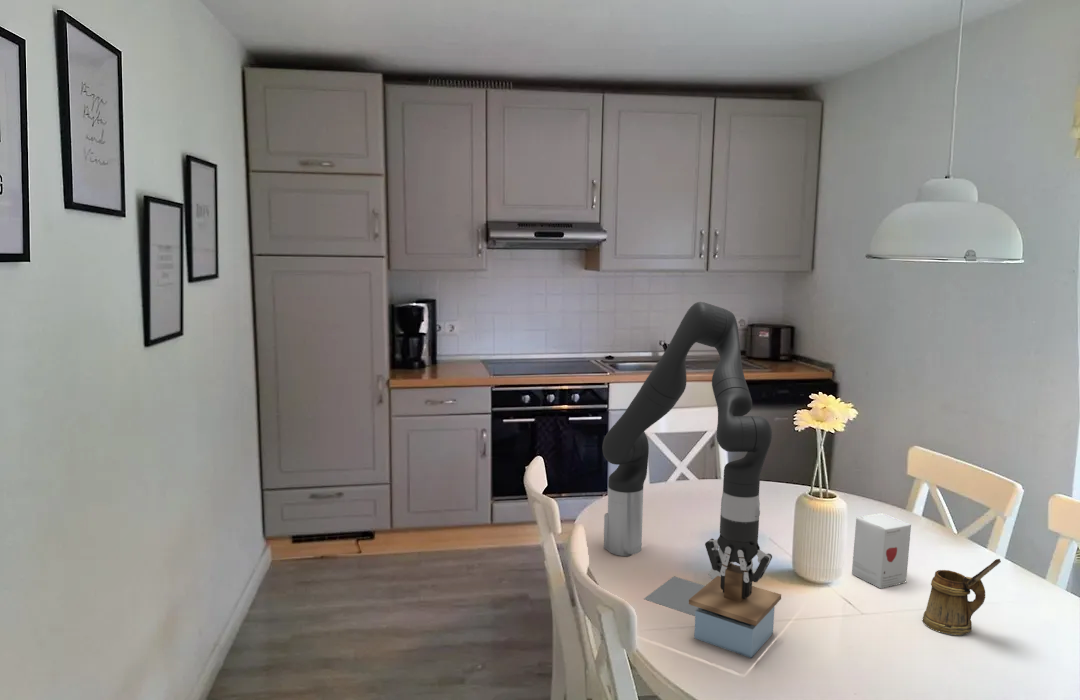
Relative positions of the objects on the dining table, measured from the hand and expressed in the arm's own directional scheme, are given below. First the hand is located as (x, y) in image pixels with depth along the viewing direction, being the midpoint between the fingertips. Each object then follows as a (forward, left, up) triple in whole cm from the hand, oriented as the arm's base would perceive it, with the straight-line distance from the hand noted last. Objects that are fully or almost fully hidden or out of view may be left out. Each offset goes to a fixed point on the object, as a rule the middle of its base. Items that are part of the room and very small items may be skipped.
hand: (735, 594), depth 148 cm
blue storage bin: (0, 0, -9) cm, 9 cm away
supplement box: (+17, +49, -10) cm, 53 cm away
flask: (-13, +25, -10) cm, 30 cm away
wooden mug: (+36, +33, -10) cm, 50 cm away
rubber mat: (-15, +10, -9) cm, 20 cm away
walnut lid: (0, 0, -2) cm, 2 cm away
